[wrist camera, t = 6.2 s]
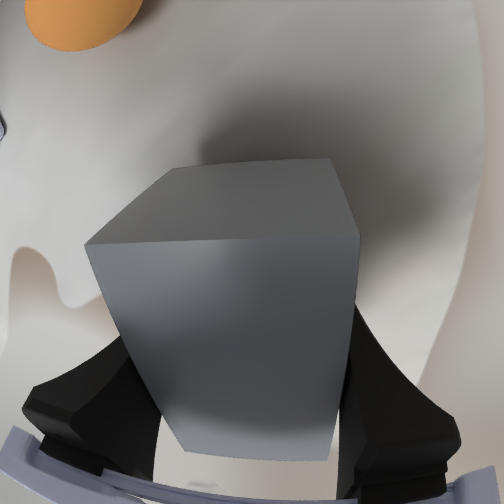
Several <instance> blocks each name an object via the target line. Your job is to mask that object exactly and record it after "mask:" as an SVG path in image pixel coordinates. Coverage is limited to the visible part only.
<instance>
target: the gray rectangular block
mask: <svg viewBox="0 0 504 504" xmlns="http://www.w3.org/2000/svg"><path fill="white" fill-rule="evenodd" d="M360 238H361V235H360V233H359V230H358V227H357V224H356V222H355V219H354V216H353V214H352V211H351V208H350V206H349V203H348V201H347V198H346V196H345V193H344V191H343V188H342V186H341V183H340V181H339V178H338V176H337V173H336V171H335V169H334V166H333V164H332V161H331V159H330V158H311V159H284V160H265V161H249V162H235V163H223V164H212V165H201V166H191V167H182V168H173V169H171V170H170V171H169V172H167V173H166V174H165V175H164V176H162V177H161V178H160V179H159V180H157V181H156V182H155V183H154V184H152V185H151V186H150V187H149V188H148V189H146V190H145V191H144V192H143V193H142V194H140V195H139V196H138V197H137V198H136V199H134V200H133V201H132V202H131V203H130V204H129V205H127V206H126V207H125V208H124V209H123V210H122V211H121V212H119V213H118V214H117V215H116V216H115V217H114V218H113V219H112V220H110V221H109V222H108V223H107V224H106V225H105V226H104V227H103V228H102V229H101V230H99V231H98V232H97V233H96V234H95V235H94V236H93V237H92V238H91V239H90V240H89V241H88V242H87V243H85V244H84V247H85V250H86V253H87V255H88V258H89V261H90V264H91V266H92V269H93V272H94V274H95V277H96V280H97V282H98V285H99V287H100V290H101V292H102V295H103V297H104V299H105V302H106V304H107V307H108V309H109V311H110V313H111V316H112V318H113V320H114V323H115V325H116V327H117V329H118V331H119V333H120V336H121V338H122V340H123V342H124V344H125V346H126V348H127V350H128V352H129V354H130V357H131V359H132V361H133V363H134V364H135V366H136V368H137V370H138V372H139V374H140V376H141V378H142V380H143V382H144V384H145V385H146V387H147V389H148V391H149V393H150V395H151V396H152V398H153V400H154V402H155V404H156V405H157V407H158V409H159V410H160V412H161V414H162V416H163V417H164V419H165V421H166V422H167V424H168V426H169V427H170V429H171V430H172V432H173V434H174V435H175V437H176V439H177V440H178V442H179V443H180V445H181V446H182V448H183V449H184V451H186V452H194V453H199V454H206V455H215V456H222V457H232V458H243V459H257V460H275V461H327V459H328V455H329V451H330V447H331V442H332V438H333V433H334V429H335V424H336V419H337V414H338V409H339V404H340V399H341V394H342V388H343V383H344V377H345V371H346V365H347V358H348V352H349V345H350V338H351V331H352V323H353V315H354V306H355V297H356V288H357V277H358V266H359V253H360Z"/></svg>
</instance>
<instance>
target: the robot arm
mask: <svg viewBox="0 0 504 504" xmlns="http://www.w3.org/2000/svg"><path fill="white" fill-rule="evenodd" d="M3 134H4V128H3V126H2V124H1V122H0V140H1V138H2V137H3ZM22 412H23V414H24V415H25V417H26V418H27V419H28V420H29V421H30V422H31V423H32V424H33V425H34V426H35V427H37V428H38V429H39V430H40V431H41V432H42V433H43V434H45V436H44V439H43V440H42V443H41V442H40V441H39V440H38V439H37V438H36V437H35V436H33V435H32V434H30V433H29V432H27V431H25V430H23V429H21V428H19V427H17V426H13V427H12V429H11V431H10V433H9V435H8V437H7V439H6V441H5V443H4V445H3V447H2V449H1V451H0V471H1V472H3V473H4V474H5V475H7V476H8V477H10V478H12V479H13V480H15V481H16V482H18V483H19V484H21V485H23V486H24V487H26V488H28V489H29V490H31V491H33V492H34V493H36V494H38V495H39V496H41V497H43V498H45V499H47V500H48V501H51V502H52V503H54V504H146V503H144V502H143V501H142V500H141V499H139V498H136V497H134V496H137V497H140V498H144V499H148V500H151V501H156V502H160V503H163V504H500V497H499V490H498V484H497V479H496V473H495V468H494V466H492V465H491V466H488V467H485V468H482V469H479V470H476V471H472V472H469V473H466V474H464V475H461V476H460V477H458V478H457V479H456V480H455V481H454V482H451V483H448V484H446V478H445V473H446V472H447V470H448V468H447V461H448V460H449V459H450V458H451V457H452V456H453V455H454V454H455V453H456V452H457V451H458V449H459V448H460V446H461V438H460V433H459V430H458V427H457V425H456V422H455V420H454V417H452V416H451V415H449V414H448V413H447V412H445V411H444V410H442V409H441V408H440V407H438V406H437V405H436V404H435V403H433V402H432V401H431V400H430V399H428V398H427V397H426V396H425V395H424V394H423V393H422V392H421V391H420V390H419V389H418V388H417V387H416V386H415V385H414V384H413V383H412V382H410V381H409V380H408V379H407V378H406V376H405V375H404V374H403V373H402V372H401V371H400V370H399V369H398V367H397V366H396V365H395V364H394V363H393V362H392V360H391V359H390V358H389V356H388V355H387V354H386V353H385V351H384V350H383V348H382V347H381V346H380V344H379V343H378V341H377V340H376V338H375V337H374V335H373V334H372V332H371V331H370V329H369V327H368V326H367V324H366V322H365V321H364V319H363V317H362V315H361V314H360V312H359V310H358V308H357V306H356V304H355V306H354V315H353V323H352V331H351V338H350V345H349V352H348V358H347V365H346V371H345V377H344V383H343V388H342V394H341V399H340V404H339V462H338V481H337V494H336V500H319V501H289V500H266V499H252V498H240V497H232V496H224V495H217V494H210V493H203V492H197V491H192V490H186V489H181V488H176V487H171V486H167V485H162V484H158V483H154V482H153V469H154V458H155V450H156V443H157V437H158V431H159V426H160V421H161V416H162V414H161V412H160V410H159V409H158V407H157V405H156V404H155V402H154V400H153V398H152V396H151V395H150V393H149V391H148V389H147V387H146V385H145V384H144V382H143V380H142V378H141V376H140V374H139V372H138V370H137V368H136V366H135V364H134V363H133V361H132V359H131V357H130V354H129V352H128V350H127V348H126V346H125V344H124V342H123V340H122V338H121V336H119V337H118V338H116V339H115V340H114V341H113V342H112V343H111V344H109V345H108V346H107V347H105V348H104V349H103V350H101V351H100V352H99V353H97V354H96V355H95V356H93V357H92V358H90V359H89V360H87V361H85V362H84V363H82V364H81V365H79V366H77V367H76V368H74V369H72V370H70V371H68V372H67V373H65V374H63V375H61V376H59V377H57V378H54V379H52V380H50V381H48V382H45V383H43V384H40V385H38V386H35V387H33V389H32V391H31V392H30V394H29V396H28V398H27V400H26V402H25V403H24V405H23V407H22ZM126 493H127V494H126ZM129 494H130V495H129ZM131 495H134V496H131Z"/></svg>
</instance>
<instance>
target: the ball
mask: <svg viewBox="0 0 504 504" xmlns="http://www.w3.org/2000/svg"><path fill="white" fill-rule="evenodd" d="M142 2H143V0H25V17H26V22H27V25H28V27H29V29H30V31H31V32H32V34H33V35H34V36H35V37H36V38H37V39H38V40H39V41H40V42H41V43H43V44H45V45H46V46H48V47H50V48H53V49H56V50H61V51H81V50H87V49H91V48H94V47H97V46H99V45H101V44H104V43H106V42H107V41H109V40H111V39H112V38H114V37H115V36H117V35H118V34H119V33H120V32H122V31H123V30H124V29H125V28H126V27H127V26H128V25H129V24H130V22H131V21H132V20H133V19H134V17H135V16H136V14H137V13H138V11H139V9H140V7H141V5H142Z"/></svg>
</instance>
